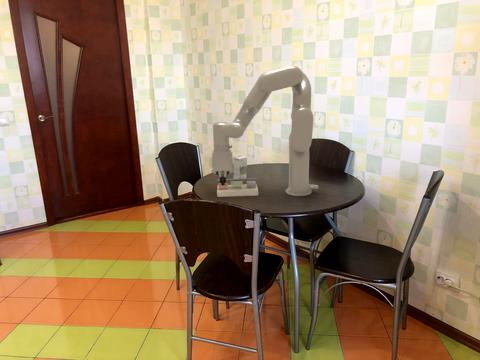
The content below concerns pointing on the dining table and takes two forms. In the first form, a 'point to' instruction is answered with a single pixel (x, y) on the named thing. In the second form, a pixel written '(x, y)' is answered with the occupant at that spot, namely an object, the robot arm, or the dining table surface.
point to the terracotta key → (222, 186)
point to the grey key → (251, 183)
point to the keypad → (237, 188)
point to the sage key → (237, 183)
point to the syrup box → (239, 167)
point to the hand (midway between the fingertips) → (223, 184)
